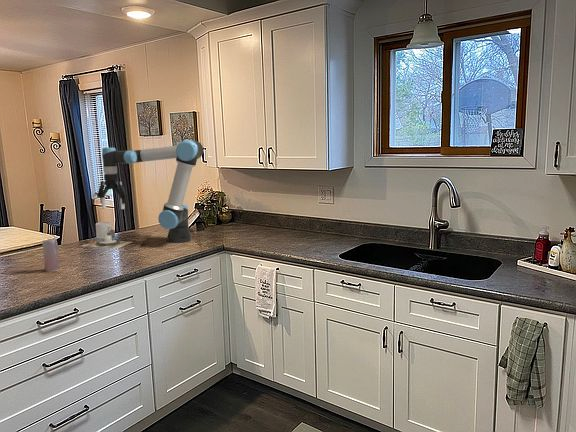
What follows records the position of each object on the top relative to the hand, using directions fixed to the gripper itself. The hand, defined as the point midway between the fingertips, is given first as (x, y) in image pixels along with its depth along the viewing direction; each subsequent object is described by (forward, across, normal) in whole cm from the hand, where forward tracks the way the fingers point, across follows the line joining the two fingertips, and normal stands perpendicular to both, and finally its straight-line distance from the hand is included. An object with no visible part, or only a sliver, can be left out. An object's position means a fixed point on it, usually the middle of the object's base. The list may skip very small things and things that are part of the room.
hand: (113, 208), depth 265 cm
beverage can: (+22, -8, +58) cm, 62 cm away
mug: (+22, +14, -8) cm, 27 cm away
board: (+22, 0, +7) cm, 23 cm away
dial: (+20, +1, +5) cm, 21 cm away
